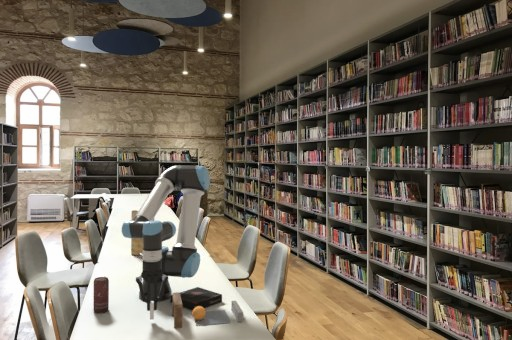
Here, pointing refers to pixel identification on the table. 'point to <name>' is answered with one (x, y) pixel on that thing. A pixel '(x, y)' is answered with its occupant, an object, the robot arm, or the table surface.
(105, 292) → the can
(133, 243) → the parchment
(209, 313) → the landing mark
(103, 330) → the table surface
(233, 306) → the stopper
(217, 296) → the portable cd player
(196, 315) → the ball
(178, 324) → the bridge
